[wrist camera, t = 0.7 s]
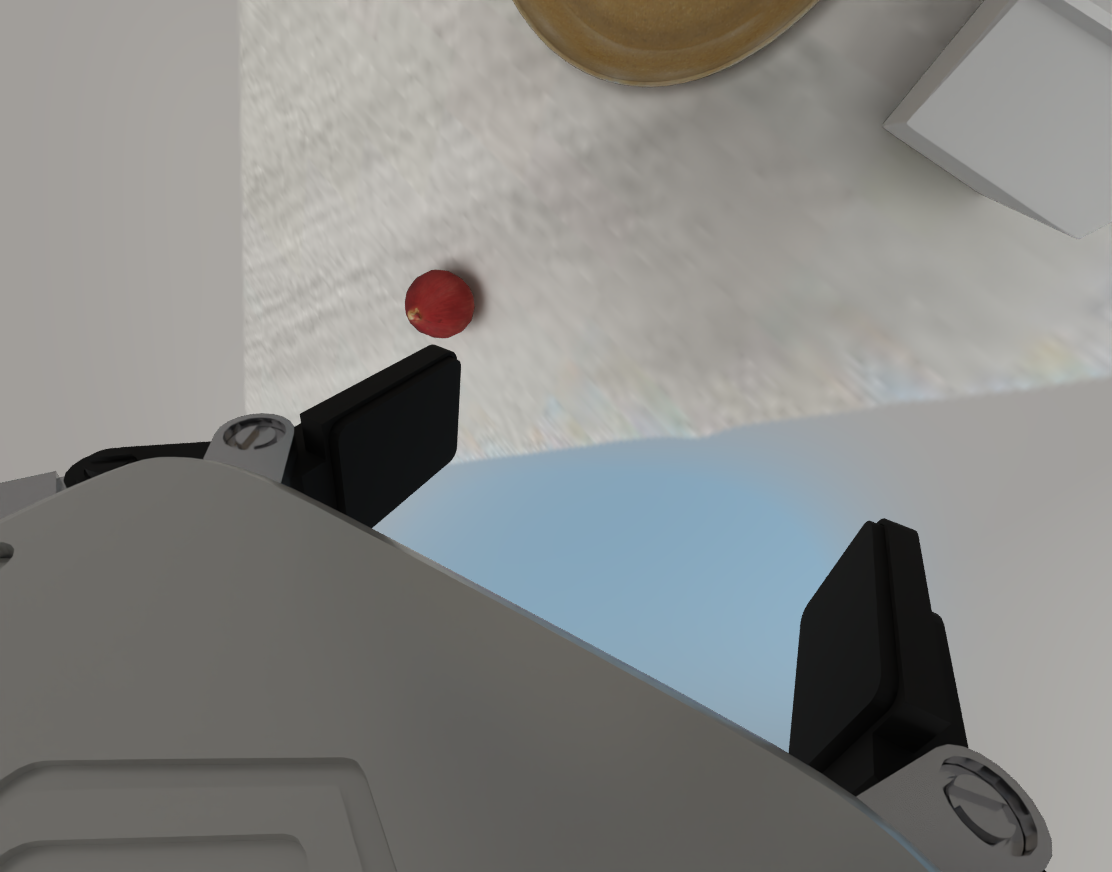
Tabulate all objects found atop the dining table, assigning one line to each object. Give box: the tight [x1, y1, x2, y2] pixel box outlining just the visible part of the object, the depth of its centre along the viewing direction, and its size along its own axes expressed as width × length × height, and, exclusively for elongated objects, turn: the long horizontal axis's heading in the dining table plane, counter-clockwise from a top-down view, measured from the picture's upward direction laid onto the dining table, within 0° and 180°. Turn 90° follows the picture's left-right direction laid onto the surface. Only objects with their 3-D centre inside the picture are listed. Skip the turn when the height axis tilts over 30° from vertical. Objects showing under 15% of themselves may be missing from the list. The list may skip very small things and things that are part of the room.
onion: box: [405, 270, 475, 338], centre depth 45 cm, size 6×6×8 cm
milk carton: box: [883, 0, 1112, 239], centre depth 20 cm, size 7×7×19 cm
